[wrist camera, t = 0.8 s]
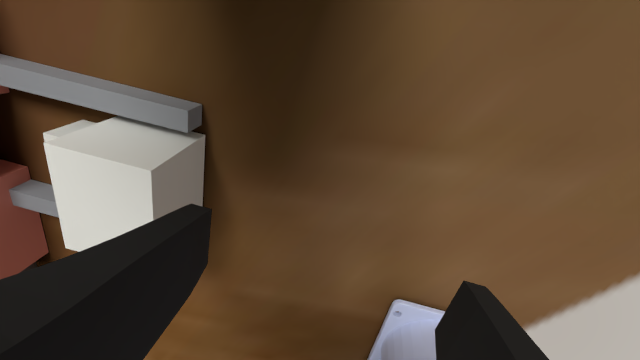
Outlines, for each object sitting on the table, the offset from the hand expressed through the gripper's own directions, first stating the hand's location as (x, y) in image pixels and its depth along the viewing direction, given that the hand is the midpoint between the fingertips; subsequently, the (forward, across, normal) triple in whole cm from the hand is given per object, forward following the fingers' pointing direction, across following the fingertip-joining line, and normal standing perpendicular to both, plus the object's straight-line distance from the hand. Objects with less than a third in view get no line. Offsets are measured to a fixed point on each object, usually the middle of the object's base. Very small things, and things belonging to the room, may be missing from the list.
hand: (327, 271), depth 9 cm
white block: (+9, +12, +4) cm, 16 cm away
